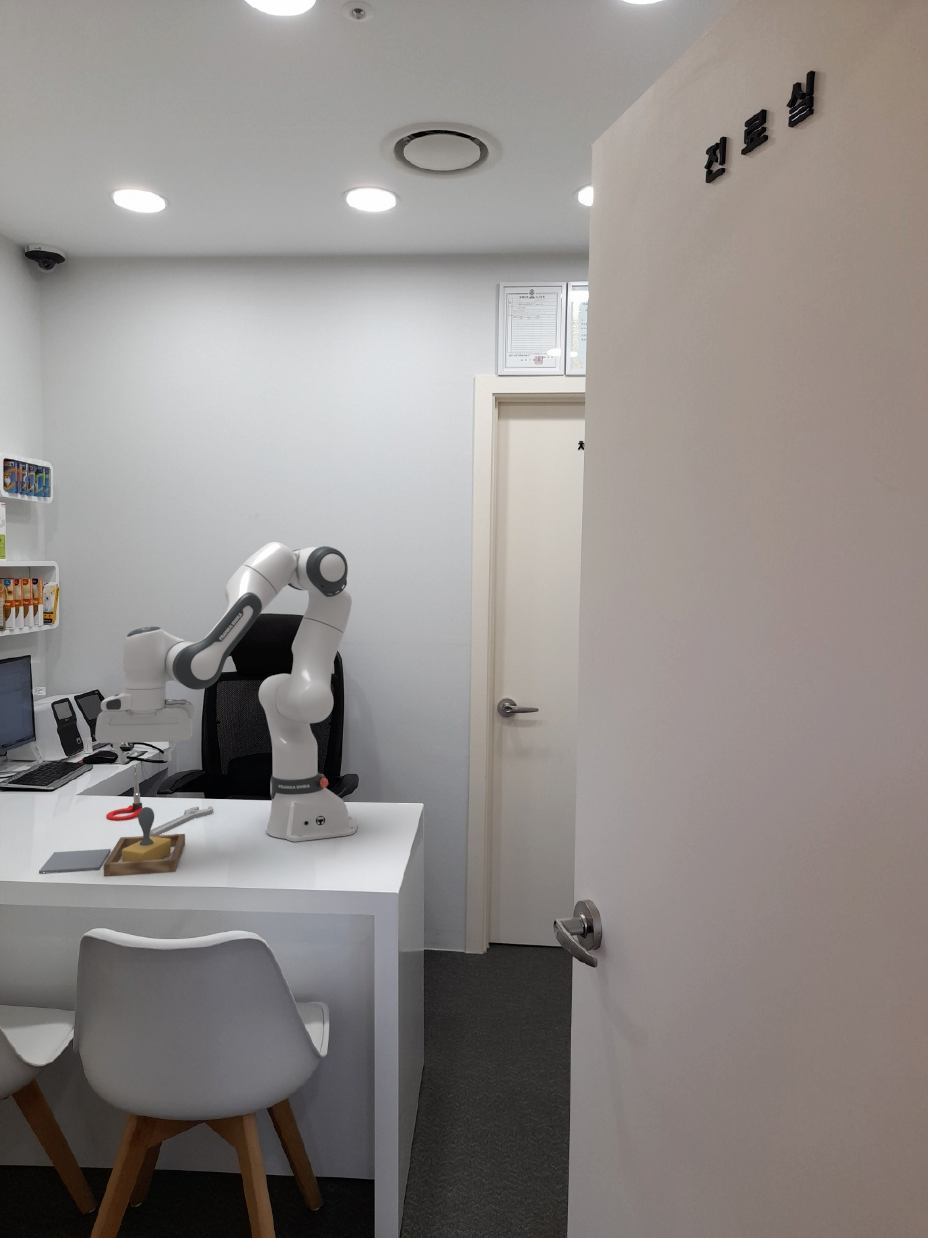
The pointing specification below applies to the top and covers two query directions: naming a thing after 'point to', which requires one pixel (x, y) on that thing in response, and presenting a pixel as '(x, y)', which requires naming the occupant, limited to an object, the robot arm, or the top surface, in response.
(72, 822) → the top surface
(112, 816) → the tow hook
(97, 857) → the slate mat
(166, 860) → the wooden frame
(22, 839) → the top surface
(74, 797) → the top surface
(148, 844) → the rubber stamp
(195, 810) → the adjustable wrench
